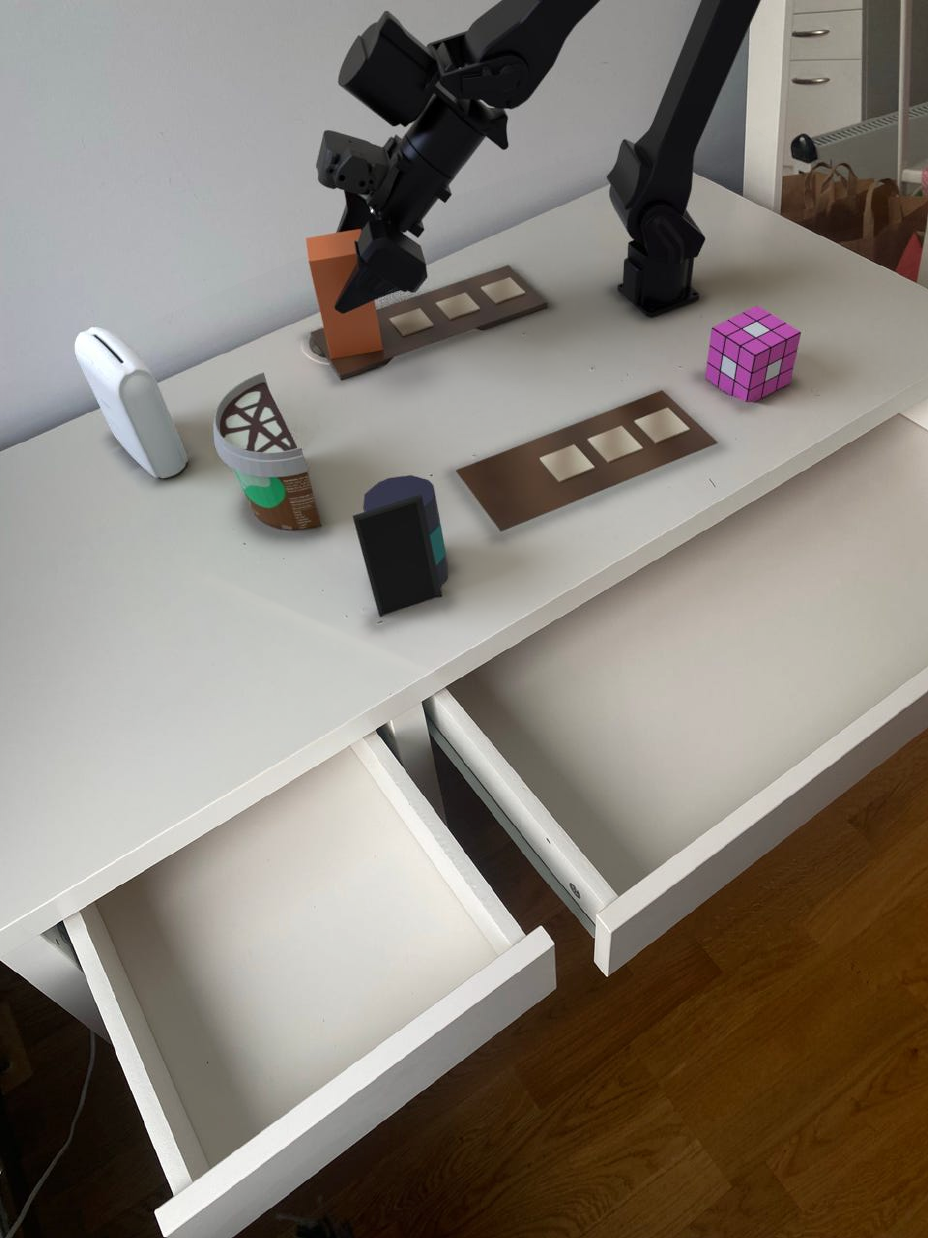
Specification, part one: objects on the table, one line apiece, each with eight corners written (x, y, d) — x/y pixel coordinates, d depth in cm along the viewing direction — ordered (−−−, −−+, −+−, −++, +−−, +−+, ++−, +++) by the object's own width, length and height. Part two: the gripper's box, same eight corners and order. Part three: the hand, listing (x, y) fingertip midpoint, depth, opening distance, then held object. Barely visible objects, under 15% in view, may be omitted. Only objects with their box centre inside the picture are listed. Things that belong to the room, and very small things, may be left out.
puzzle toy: (745, 407, 88) (755, 355, 84) (704, 378, 91) (711, 327, 87) (790, 383, 90) (802, 331, 85) (748, 355, 93) (757, 304, 89)
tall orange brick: (378, 326, 101) (361, 228, 92) (383, 350, 98) (365, 251, 89) (327, 334, 100) (305, 237, 92) (330, 359, 97) (308, 261, 89)
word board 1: (508, 269, 107) (508, 262, 106) (547, 307, 101) (547, 300, 101) (311, 336, 101) (309, 330, 101) (340, 380, 96) (339, 373, 95)
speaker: (450, 616, 75) (429, 514, 67) (379, 623, 75) (351, 522, 68) (453, 554, 80) (434, 453, 73) (386, 560, 81) (361, 460, 73)
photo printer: (109, 436, 93) (57, 328, 84) (147, 416, 95) (100, 308, 85) (156, 487, 88) (106, 377, 78) (196, 465, 89) (152, 355, 80)
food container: (225, 478, 88) (192, 390, 80) (287, 457, 89) (261, 368, 81) (259, 564, 80) (227, 476, 73) (327, 540, 82) (303, 451, 74)
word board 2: (661, 394, 90) (662, 387, 90) (717, 447, 85) (718, 440, 84) (455, 474, 86) (455, 468, 85) (500, 536, 80) (500, 529, 80)
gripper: (348, 58, 87) (260, 195, 95) (369, 146, 75) (266, 293, 83) (440, 132, 93) (351, 254, 101) (474, 223, 82) (369, 353, 90)
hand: (334, 285), depth 94 cm, fingers open, 9 cm apart
